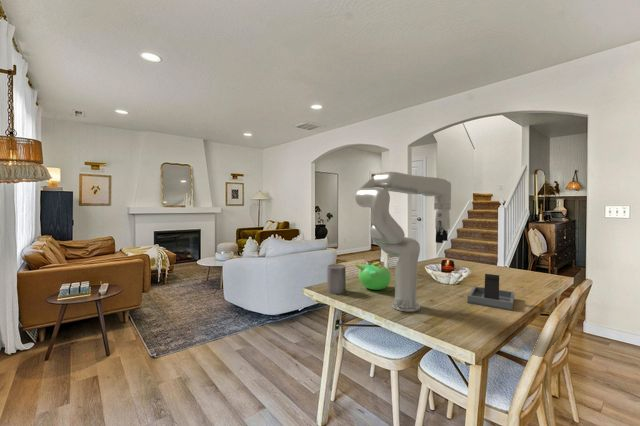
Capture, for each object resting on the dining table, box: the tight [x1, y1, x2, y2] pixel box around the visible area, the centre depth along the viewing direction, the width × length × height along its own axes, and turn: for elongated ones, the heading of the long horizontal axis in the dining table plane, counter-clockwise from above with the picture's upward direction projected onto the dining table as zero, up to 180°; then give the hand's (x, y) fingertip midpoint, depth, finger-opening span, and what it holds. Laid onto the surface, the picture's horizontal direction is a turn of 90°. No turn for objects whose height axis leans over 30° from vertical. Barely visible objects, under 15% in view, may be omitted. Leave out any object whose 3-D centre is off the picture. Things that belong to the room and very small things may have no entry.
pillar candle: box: [326, 263, 347, 295], centre depth 160 cm, size 10×10×15 cm
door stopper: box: [484, 273, 500, 300], centre depth 146 cm, size 9×6×12 cm, turn 148°
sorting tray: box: [467, 286, 515, 312], centre depth 147 cm, size 20×18×4 cm
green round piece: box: [353, 261, 392, 291], centre depth 165 cm, size 18×17×15 cm
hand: (441, 241), depth 148 cm, fingers open, 9 cm apart
